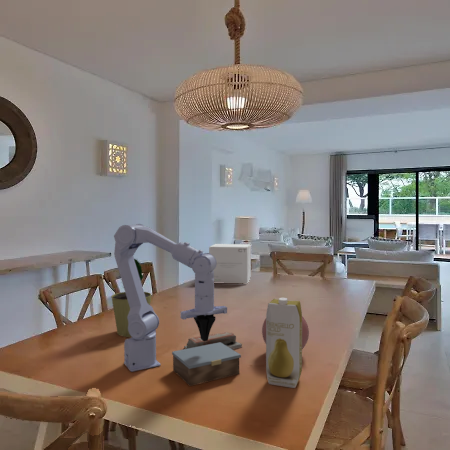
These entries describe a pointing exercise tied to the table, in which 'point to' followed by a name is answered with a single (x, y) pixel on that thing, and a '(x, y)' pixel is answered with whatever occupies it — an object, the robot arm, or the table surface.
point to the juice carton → (284, 342)
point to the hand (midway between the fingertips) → (204, 339)
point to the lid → (205, 355)
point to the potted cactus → (125, 306)
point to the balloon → (304, 332)
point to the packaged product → (215, 340)
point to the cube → (232, 262)
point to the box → (205, 371)
